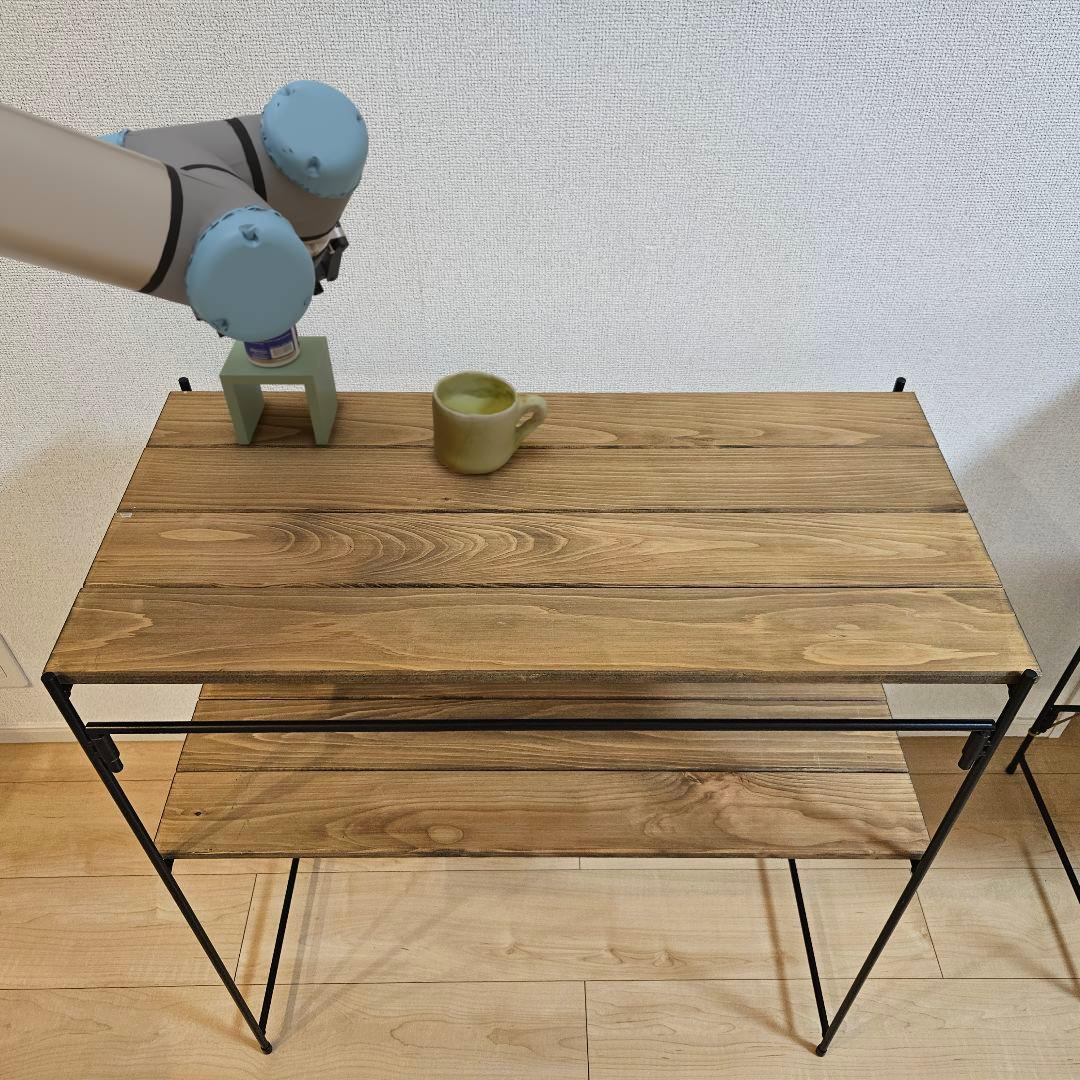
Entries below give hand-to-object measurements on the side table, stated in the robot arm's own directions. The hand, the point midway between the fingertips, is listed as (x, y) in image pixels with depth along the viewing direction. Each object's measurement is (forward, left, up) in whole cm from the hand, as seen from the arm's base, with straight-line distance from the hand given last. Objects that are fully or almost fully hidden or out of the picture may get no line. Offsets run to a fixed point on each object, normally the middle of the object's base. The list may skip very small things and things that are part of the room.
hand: (255, 313), depth 96 cm
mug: (+21, -16, -13) cm, 30 cm away
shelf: (+1, -3, -13) cm, 13 cm away
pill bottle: (+1, -3, -4) cm, 5 cm away
